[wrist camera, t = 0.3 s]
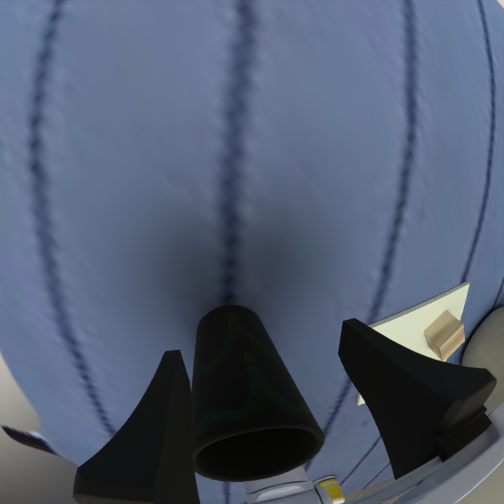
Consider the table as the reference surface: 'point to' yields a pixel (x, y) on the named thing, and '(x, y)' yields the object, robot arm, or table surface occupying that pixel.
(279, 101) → the table surface
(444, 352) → the beech brick
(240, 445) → the cup
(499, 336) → the canister
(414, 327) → the plate
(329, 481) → the supplement bottle
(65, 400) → the table surface
